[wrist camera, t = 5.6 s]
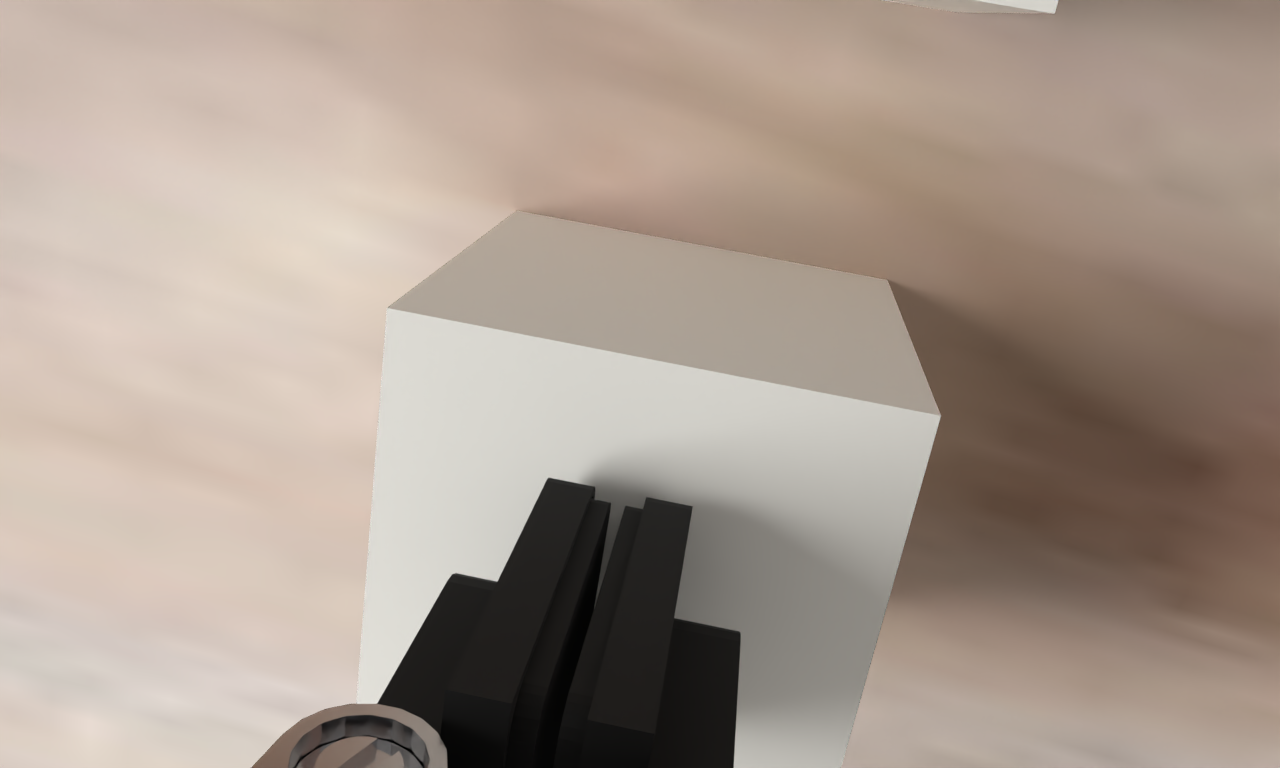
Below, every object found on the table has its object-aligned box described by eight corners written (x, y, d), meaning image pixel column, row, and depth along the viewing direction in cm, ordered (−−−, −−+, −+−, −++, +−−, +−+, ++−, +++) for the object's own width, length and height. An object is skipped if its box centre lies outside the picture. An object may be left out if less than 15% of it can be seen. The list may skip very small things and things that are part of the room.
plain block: (517, 209, 17) (387, 308, 11) (886, 278, 17) (941, 416, 11) (479, 533, 19) (352, 752, 13) (805, 601, 19) (815, 855, 13)
